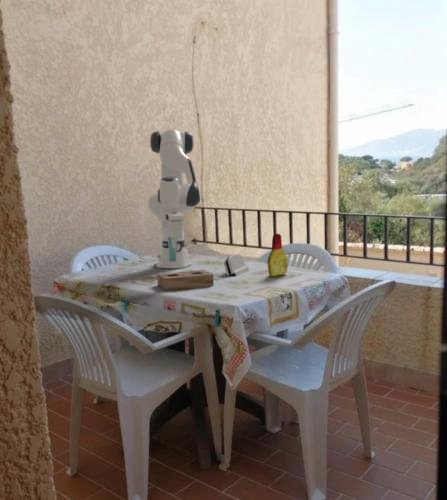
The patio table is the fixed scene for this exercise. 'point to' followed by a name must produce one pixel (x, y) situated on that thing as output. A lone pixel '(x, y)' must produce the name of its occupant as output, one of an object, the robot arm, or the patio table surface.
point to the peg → (171, 251)
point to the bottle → (277, 258)
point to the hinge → (235, 265)
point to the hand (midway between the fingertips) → (172, 247)
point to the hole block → (185, 280)
